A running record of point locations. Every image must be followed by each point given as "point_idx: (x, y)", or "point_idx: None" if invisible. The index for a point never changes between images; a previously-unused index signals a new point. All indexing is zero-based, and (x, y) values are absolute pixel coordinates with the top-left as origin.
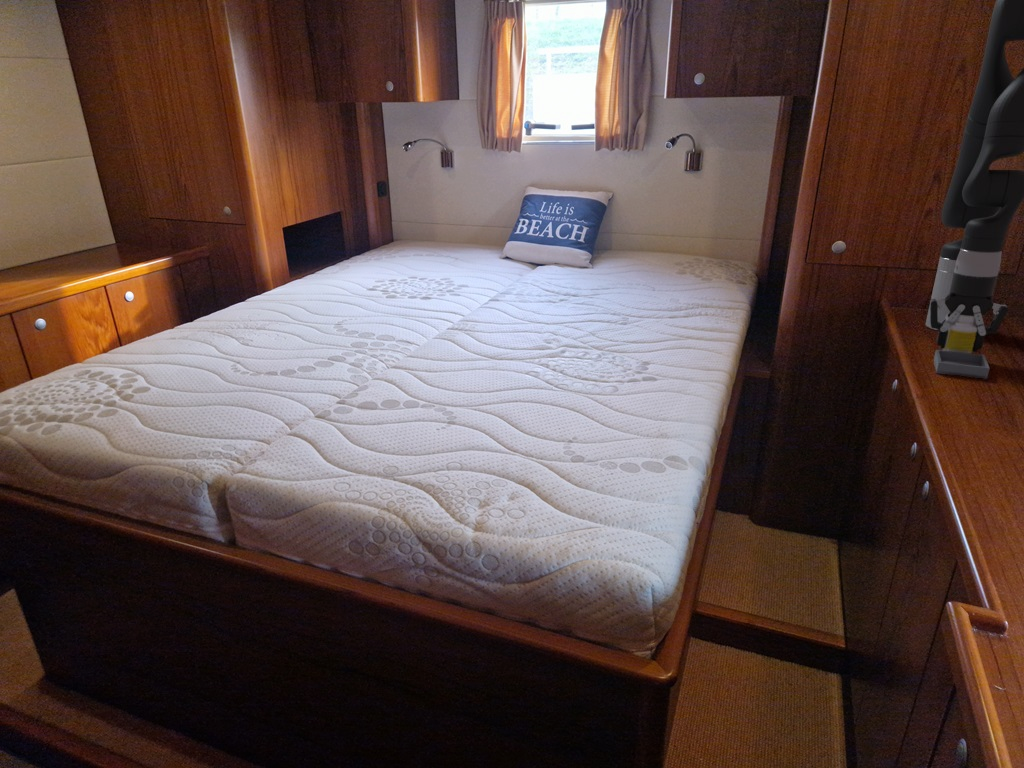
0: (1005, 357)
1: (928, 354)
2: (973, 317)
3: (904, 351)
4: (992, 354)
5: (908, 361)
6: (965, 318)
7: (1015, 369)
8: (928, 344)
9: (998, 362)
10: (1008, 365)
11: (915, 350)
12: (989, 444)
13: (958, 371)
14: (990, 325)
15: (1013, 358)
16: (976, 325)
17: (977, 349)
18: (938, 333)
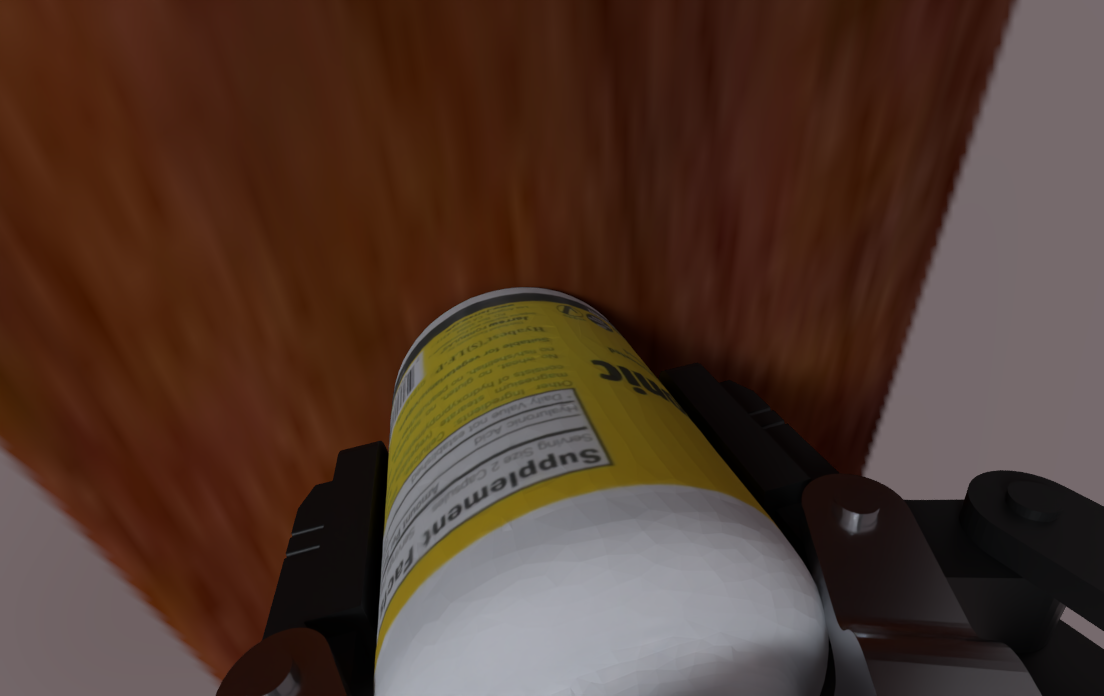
0: (911, 118)
1: (285, 436)
2: None
3: (46, 483)
4: (824, 73)
5: (225, 670)
6: None
7: (886, 404)
8: (110, 19)
9: (819, 312)
10: (868, 344)
11: (118, 388)
12: None
13: None
14: (1039, 587)
15: (967, 112)
16: (822, 681)
17: None
18: (278, 615)
